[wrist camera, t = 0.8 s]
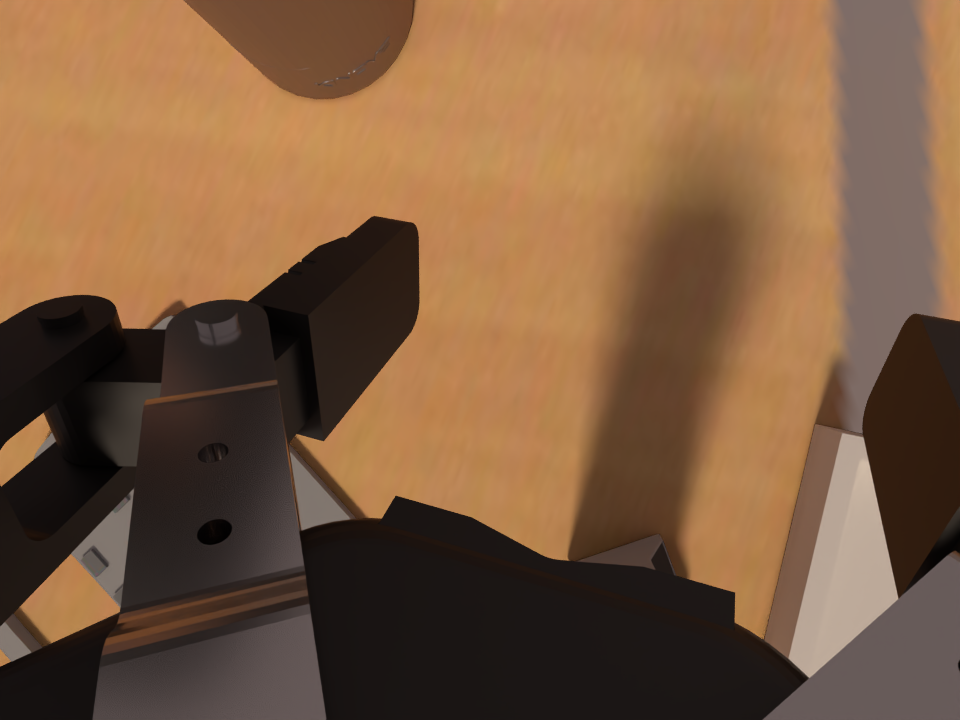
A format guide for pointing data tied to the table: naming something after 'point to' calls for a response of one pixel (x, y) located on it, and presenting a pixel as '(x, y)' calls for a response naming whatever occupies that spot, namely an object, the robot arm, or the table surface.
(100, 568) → the office telephone
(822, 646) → the tray
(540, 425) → the table surface
